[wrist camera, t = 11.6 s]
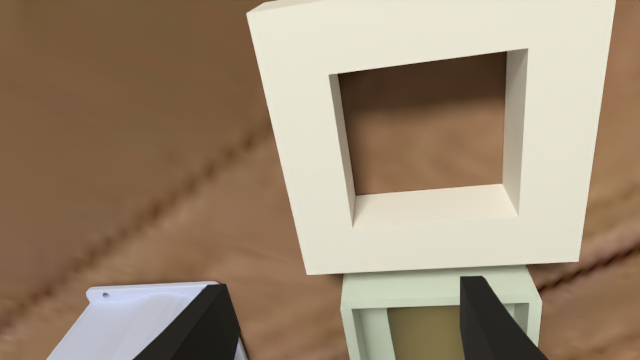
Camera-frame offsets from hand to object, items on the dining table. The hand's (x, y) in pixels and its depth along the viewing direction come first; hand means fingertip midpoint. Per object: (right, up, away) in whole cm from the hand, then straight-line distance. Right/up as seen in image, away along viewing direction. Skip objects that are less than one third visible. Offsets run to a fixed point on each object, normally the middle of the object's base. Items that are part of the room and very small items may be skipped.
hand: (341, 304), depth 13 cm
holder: (+4, +7, +8) cm, 11 cm away
